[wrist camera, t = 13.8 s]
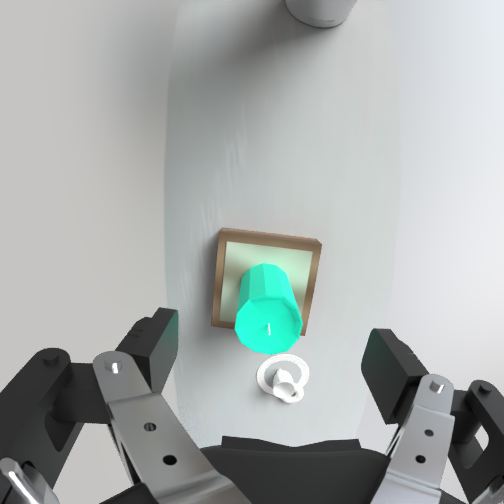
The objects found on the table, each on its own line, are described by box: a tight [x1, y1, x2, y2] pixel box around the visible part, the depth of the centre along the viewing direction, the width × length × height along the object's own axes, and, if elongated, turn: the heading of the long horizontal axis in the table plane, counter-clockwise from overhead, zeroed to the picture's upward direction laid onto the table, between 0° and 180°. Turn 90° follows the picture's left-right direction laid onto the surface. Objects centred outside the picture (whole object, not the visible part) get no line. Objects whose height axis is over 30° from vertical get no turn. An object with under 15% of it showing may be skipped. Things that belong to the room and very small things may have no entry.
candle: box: [235, 263, 303, 355], centre depth 31 cm, size 6×6×12 cm
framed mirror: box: [211, 228, 322, 336], centre depth 38 cm, size 12×12×4 cm
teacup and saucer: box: [257, 354, 309, 404], centre depth 42 cm, size 9×8×4 cm
